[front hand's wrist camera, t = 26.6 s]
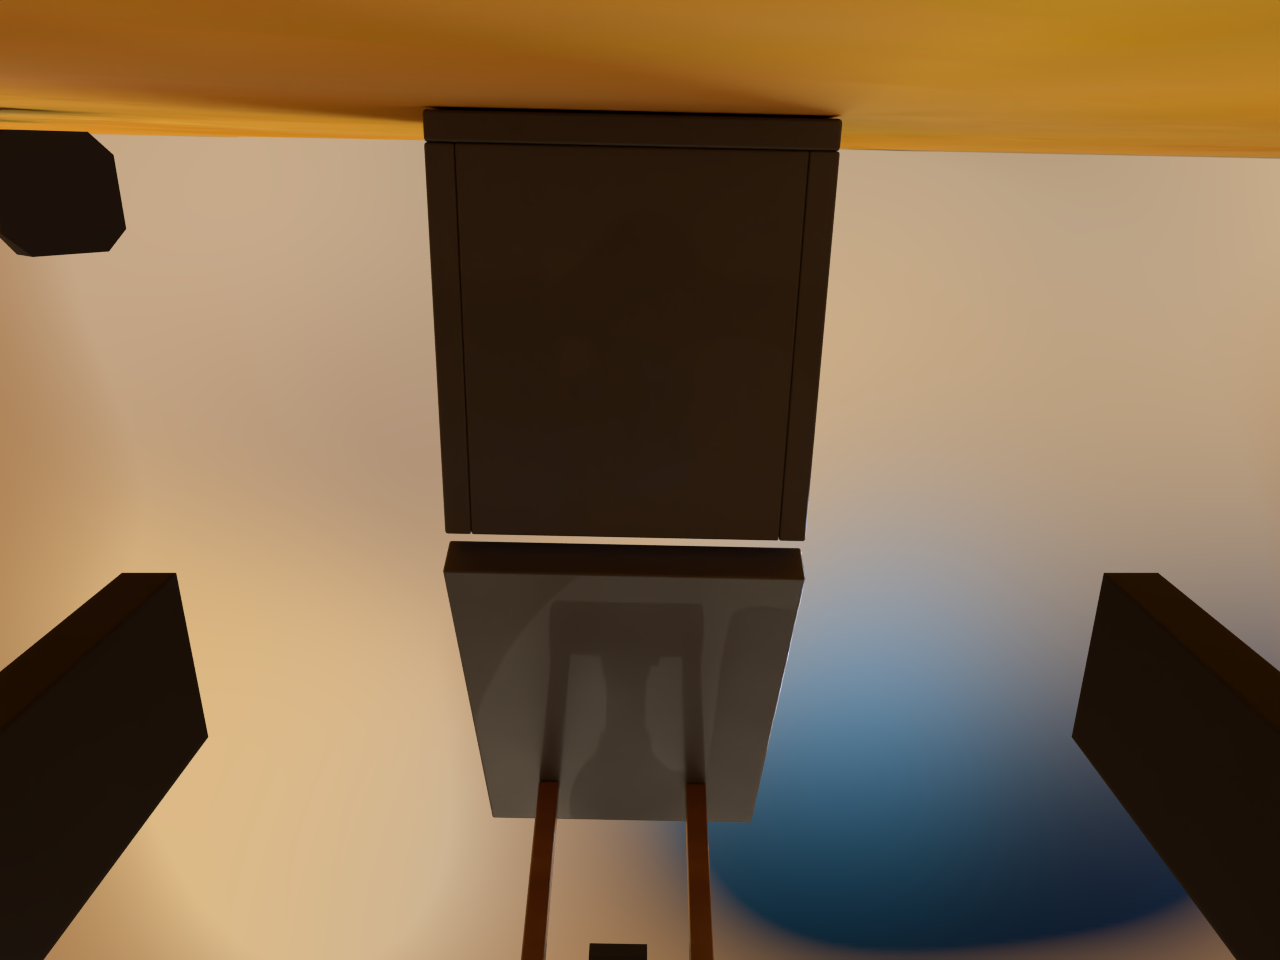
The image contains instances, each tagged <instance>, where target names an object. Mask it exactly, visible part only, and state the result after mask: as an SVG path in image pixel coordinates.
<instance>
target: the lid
mask: <svg viewBox="0 0 1280 960" xmlns="http://www.w3.org/2000/svg"><path fill="white" fill-rule="evenodd" d="M443 572H444V577H445V582H446V587H447V592H448V597H449V602H450V607H451V612H452V617H453V622H454V627H455V632H456V637H457V642H458V647H459V652H460V657H461V662H462V667H463V672H464V676H465V681H466V686H467V691H468V696H469V701H470V706H471V711H472V716H473V721H474V726H475V731H476V736H477V741H478V746H479V750H480V756H481V761H482V766H483V771H484V776H485V781H486V786H487V790H488V795H489V800H490V805H491V810H492V815H493V817H500V818H535V825H534V835H533V845H532V855H531V865H530V875H529V885H528V895H527V906H526V915H525V925H524V936H523V945H522V955H521V960H545V959H546V946H547V934H548V922H549V910H550V897H551V885H552V873H553V861H554V849H555V836H556V824H557V819H602V820H654V821H686V847H687V885H688V922H689V960H714V958H713V936H712V914H711V891H710V869H709V847H708V824H707V822H751V819H752V815H753V811H754V806H755V802H756V797H757V793H758V788H759V784H760V779H761V775H762V770H763V766H764V761H765V757H766V752H767V748H768V743H769V739H770V734H771V730H772V725H773V721H774V716H775V712H776V708H777V703H778V699H779V694H780V689H781V685H782V681H783V676H784V672H785V667H786V663H787V658H788V654H789V649H790V645H791V640H792V636H793V631H794V627H795V622H796V618H797V614H798V609H799V605H800V600H801V596H802V591H803V587H804V582H805V574H804V567H803V561H802V555H801V550H800V549H799V548H760V547H712V546H664V545H616V544H567V543H521V542H473V541H451V542H450V543H449V548H448V552H447V557H446V561H445V566H444V570H443Z"/></svg>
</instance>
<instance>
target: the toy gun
mask: <svg viewBox="0 0 1280 960" xmlns="http://www.w3.org/2000/svg"><path fill="white" fill-rule="evenodd" d="M125 230H126V225H125V219H124V214H123V208H122V202H121V196H120V190H119V184H118V178H117V173H116V167H115V161H114V155H113V154H112V153H111V152H110V151H108V150H107V149H106V148H105V147H104V146H103V145H102V144H101V143H99V142H98V141H97V140H96V139H95V138H94V137H93V136H92V135H91V134H89V133H88V132H73V131H38V130H0V238H1V239H2V240H3V241H4V242H5V243H6V244H7V245H8V246H9V247H10V248H11V249H12V250H13V251H14V252H15V253H16V254H18V255H24V256H31V257H38V256H51V255H65V254H79V253H93V252H107V251H110V249H111V248H112V247H113V245H114V244H115V243H116V241H117V240H118V239H119V238H120V236H121V235H122V234H123V232H124V231H125Z"/></svg>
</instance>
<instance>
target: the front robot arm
mask: <svg viewBox="0 0 1280 960" xmlns="http://www.w3.org/2000/svg"><path fill="white" fill-rule="evenodd" d="M207 738H208V733H207V728H206V723H205V718H204V713H203V708H202V703H201V698H200V692H199V687H198V682H197V677H196V672H195V667H194V662H193V657H192V652H191V647H190V642H189V636H188V631H187V626H186V621H185V616H184V611H183V606H182V601H181V596H180V590H179V585H178V580H177V575H176V573H121V574H120V575H119V576H118V577H116V578H115V579H114V580H113V581H111V582H110V583H109V584H108V585H107V586H105V587H104V588H103V589H102V590H100V591H99V592H98V593H97V594H95V595H94V596H93V597H92V598H90V599H89V600H88V601H87V602H86V603H84V604H83V605H82V606H81V607H79V608H78V609H77V610H76V611H74V612H73V613H72V614H71V615H70V616H68V617H67V618H66V619H65V620H63V621H62V622H61V623H60V624H59V625H57V626H56V627H55V628H53V629H52V630H51V631H50V632H49V633H47V634H46V635H45V636H44V637H42V638H41V639H40V640H39V641H38V642H36V643H35V644H34V645H33V646H31V647H30V648H29V649H28V650H26V651H25V652H24V653H23V654H21V655H20V656H19V657H18V658H17V659H15V660H14V661H13V662H12V663H10V664H9V665H8V666H7V667H5V668H4V669H3V670H2V671H1V672H0V960H44V958H45V957H46V956H47V954H48V953H49V952H50V950H51V949H52V948H53V946H54V945H55V944H56V942H57V941H58V939H59V938H60V937H61V935H62V934H63V933H64V931H65V930H66V929H67V927H68V926H69V925H70V923H71V922H72V921H73V919H74V918H75V917H76V915H77V914H78V912H79V911H80V910H81V908H82V907H83V906H84V904H85V903H86V902H87V900H88V899H89V898H90V896H91V895H92V893H93V892H94V891H95V889H96V888H97V887H98V885H99V884H100V883H101V881H102V880H103V879H104V877H105V876H106V875H107V873H108V872H109V870H110V869H111V868H112V866H113V865H114V864H115V862H116V861H117V860H118V858H119V857H120V856H121V854H122V853H123V852H124V850H125V849H126V848H127V846H128V845H129V843H130V842H131V841H132V839H133V838H134V837H135V835H136V834H137V833H138V831H139V830H140V829H141V827H142V826H143V824H144V823H145V822H146V820H147V819H148V818H149V816H150V815H151V814H152V812H153V811H154V810H155V808H156V807H157V805H158V804H159V803H160V801H161V800H162V799H163V797H164V796H165V795H166V793H167V792H168V791H169V789H170V788H171V786H172V785H173V784H174V783H175V781H176V780H177V778H178V777H179V776H180V774H181V773H182V772H183V770H184V769H185V768H186V766H187V765H188V764H189V762H190V761H191V760H192V758H193V757H194V755H195V754H196V753H197V751H198V750H199V749H200V747H201V746H202V745H203V743H204V742H205V741H206V739H207ZM1072 738H1073V739H1074V741H1075V742H1076V743H1077V745H1078V746H1079V747H1080V749H1081V750H1082V751H1083V753H1084V754H1085V755H1086V757H1087V758H1088V760H1089V761H1090V762H1091V764H1092V765H1093V766H1094V768H1095V769H1096V770H1097V772H1098V773H1099V774H1100V776H1101V777H1102V778H1103V780H1104V781H1105V783H1106V784H1107V785H1108V786H1109V788H1110V789H1111V791H1112V792H1113V793H1114V795H1115V796H1116V797H1117V799H1118V800H1119V801H1120V803H1121V804H1122V806H1123V807H1124V808H1125V810H1126V811H1127V812H1128V814H1129V815H1130V816H1131V818H1132V819H1133V820H1134V822H1135V823H1136V824H1137V826H1138V827H1139V829H1140V830H1141V831H1142V833H1143V834H1144V835H1145V837H1146V838H1147V839H1148V841H1149V842H1150V843H1151V845H1152V846H1153V847H1154V849H1155V850H1156V852H1157V853H1158V854H1159V856H1160V857H1161V858H1162V860H1163V861H1164V862H1165V864H1166V865H1167V866H1168V868H1169V869H1170V870H1171V872H1172V873H1173V875H1174V876H1175V877H1176V879H1177V880H1178V881H1179V883H1180V884H1181V885H1182V887H1183V888H1184V889H1185V891H1186V892H1187V894H1188V895H1189V896H1190V897H1191V899H1192V900H1193V902H1194V903H1195V904H1196V906H1197V907H1198V908H1199V910H1200V911H1201V912H1202V914H1203V915H1204V916H1205V918H1206V919H1207V921H1208V922H1209V923H1210V925H1211V926H1212V927H1213V929H1214V930H1215V931H1216V933H1217V934H1218V935H1219V937H1220V938H1221V940H1222V941H1223V942H1224V944H1225V945H1226V946H1227V948H1228V949H1229V950H1230V952H1231V953H1232V954H1233V956H1234V957H1235V958H1236V960H1280V672H1279V671H1278V670H1277V669H1276V668H1275V667H1273V666H1272V665H1271V664H1270V663H1268V662H1267V661H1266V660H1265V659H1263V658H1262V657H1261V656H1260V655H1259V654H1257V653H1256V652H1255V651H1254V650H1252V649H1251V648H1250V647H1249V646H1247V645H1246V644H1245V643H1244V642H1243V641H1241V640H1240V639H1239V638H1238V637H1236V636H1235V635H1234V634H1233V633H1231V632H1230V631H1229V630H1228V629H1226V628H1225V627H1224V626H1223V625H1222V624H1220V623H1219V622H1218V621H1217V620H1215V619H1214V618H1213V617H1212V616H1210V615H1209V614H1208V613H1207V612H1205V611H1204V610H1203V609H1202V608H1201V607H1199V606H1198V605H1197V604H1196V603H1194V602H1193V601H1192V600H1191V599H1189V598H1188V597H1187V596H1186V595H1185V594H1183V593H1182V592H1181V591H1179V590H1178V589H1177V588H1176V587H1175V586H1174V585H1172V584H1171V583H1170V582H1169V581H1167V580H1166V579H1165V578H1164V577H1162V576H1161V575H1160V574H1159V573H1104V575H1103V580H1102V585H1101V590H1100V596H1099V601H1098V606H1097V611H1096V616H1095V621H1094V626H1093V631H1092V637H1091V641H1090V646H1089V652H1088V657H1087V662H1086V667H1085V672H1084V677H1083V682H1082V687H1081V693H1080V698H1079V703H1078V708H1077V713H1076V718H1075V723H1074V728H1073V733H1072Z"/></svg>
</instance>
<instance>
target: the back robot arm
mask: <svg viewBox="0 0 1280 960" xmlns="http://www.w3.org/2000/svg"><path fill="white" fill-rule="evenodd" d="M589 960H647V944H596V943H590V947H589Z"/></svg>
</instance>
